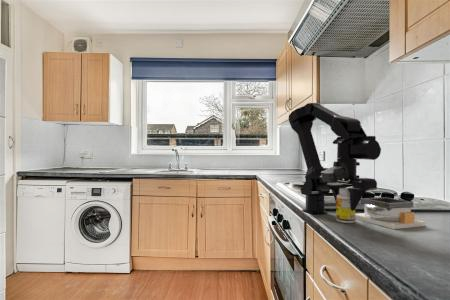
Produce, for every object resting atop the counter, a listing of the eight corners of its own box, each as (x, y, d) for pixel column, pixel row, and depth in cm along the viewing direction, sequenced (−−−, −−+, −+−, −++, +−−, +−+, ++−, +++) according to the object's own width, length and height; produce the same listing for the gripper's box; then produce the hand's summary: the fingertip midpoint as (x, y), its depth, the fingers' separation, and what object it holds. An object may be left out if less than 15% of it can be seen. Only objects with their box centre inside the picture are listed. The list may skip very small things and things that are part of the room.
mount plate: (351, 217, 105) (351, 213, 105) (380, 215, 110) (380, 211, 110) (394, 229, 91) (394, 224, 91) (425, 225, 96) (425, 221, 96)
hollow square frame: (355, 214, 104) (355, 198, 104) (384, 212, 109) (384, 196, 109) (393, 224, 91) (393, 205, 91) (424, 221, 96) (425, 203, 96)
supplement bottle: (336, 218, 103) (337, 187, 103) (355, 220, 101) (356, 188, 101) (335, 222, 98) (335, 189, 98) (354, 224, 96) (355, 190, 96)
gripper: (306, 157, 105) (305, 204, 105) (349, 159, 88) (347, 216, 88) (333, 157, 109) (332, 203, 109) (378, 159, 92) (377, 213, 92)
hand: (345, 208), depth 99 cm, fingers closed on supplement bottle, 6 cm apart
